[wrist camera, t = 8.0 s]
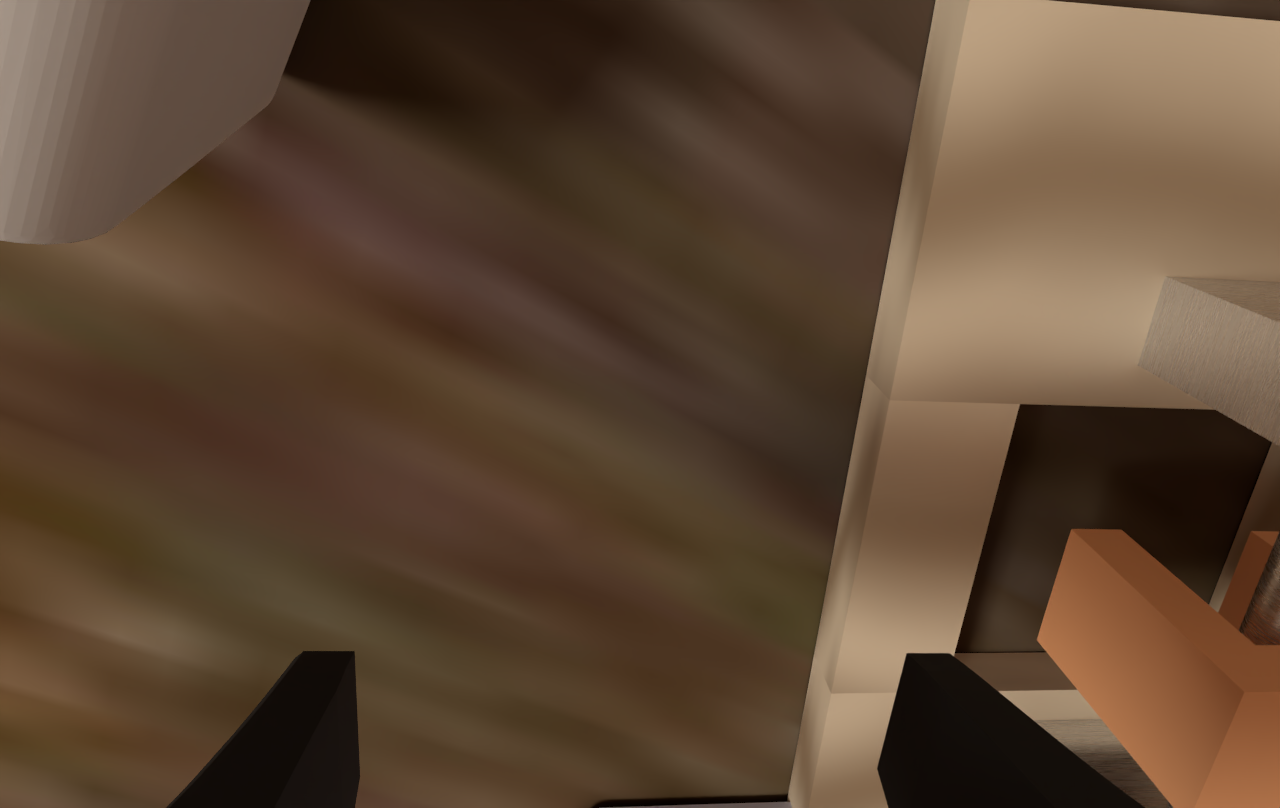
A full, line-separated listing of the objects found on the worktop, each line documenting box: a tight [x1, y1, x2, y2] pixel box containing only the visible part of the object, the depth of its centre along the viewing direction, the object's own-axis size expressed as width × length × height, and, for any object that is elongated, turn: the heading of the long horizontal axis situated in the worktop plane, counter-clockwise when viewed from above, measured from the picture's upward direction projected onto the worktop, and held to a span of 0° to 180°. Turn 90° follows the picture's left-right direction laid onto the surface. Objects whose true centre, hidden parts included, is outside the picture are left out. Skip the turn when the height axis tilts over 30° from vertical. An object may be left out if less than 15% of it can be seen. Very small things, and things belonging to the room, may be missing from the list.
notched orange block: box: [1037, 529, 1280, 808], centre depth 18 cm, size 3×6×5 cm, turn 85°
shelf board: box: [787, 0, 1280, 808], centre depth 22 cm, size 24×14×2 cm, turn 176°
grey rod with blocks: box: [1034, 276, 1280, 808], centre depth 19 cm, size 14×3×6 cm, turn 176°
